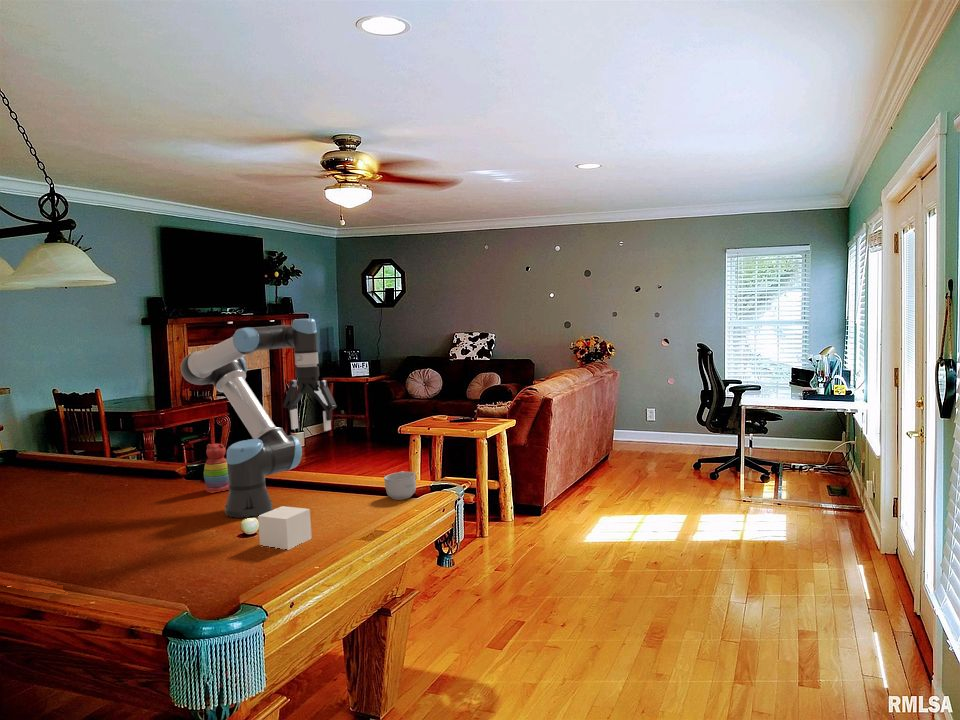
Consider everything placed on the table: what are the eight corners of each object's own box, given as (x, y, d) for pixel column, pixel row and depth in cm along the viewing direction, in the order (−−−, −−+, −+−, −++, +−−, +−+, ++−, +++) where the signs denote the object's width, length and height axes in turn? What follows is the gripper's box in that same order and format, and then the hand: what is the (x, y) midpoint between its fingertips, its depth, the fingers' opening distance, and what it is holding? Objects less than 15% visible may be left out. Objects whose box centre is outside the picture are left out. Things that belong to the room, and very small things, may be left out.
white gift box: (260, 546, 210) (258, 515, 209) (284, 535, 219) (282, 506, 218) (288, 550, 205) (286, 519, 205) (311, 538, 214) (309, 509, 214)
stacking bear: (239, 486, 281) (235, 440, 280) (224, 493, 271) (220, 446, 270) (213, 486, 284) (210, 440, 282) (198, 493, 274) (194, 446, 272)
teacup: (411, 502, 249) (410, 478, 248) (380, 501, 251) (379, 478, 251) (422, 491, 263) (421, 469, 262) (393, 490, 265) (392, 469, 264)
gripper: (269, 366, 244) (274, 430, 246) (330, 366, 233) (334, 433, 235) (285, 364, 251) (289, 426, 253) (344, 364, 240) (348, 428, 242)
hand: (311, 429), depth 244 cm, fingers open, 13 cm apart
